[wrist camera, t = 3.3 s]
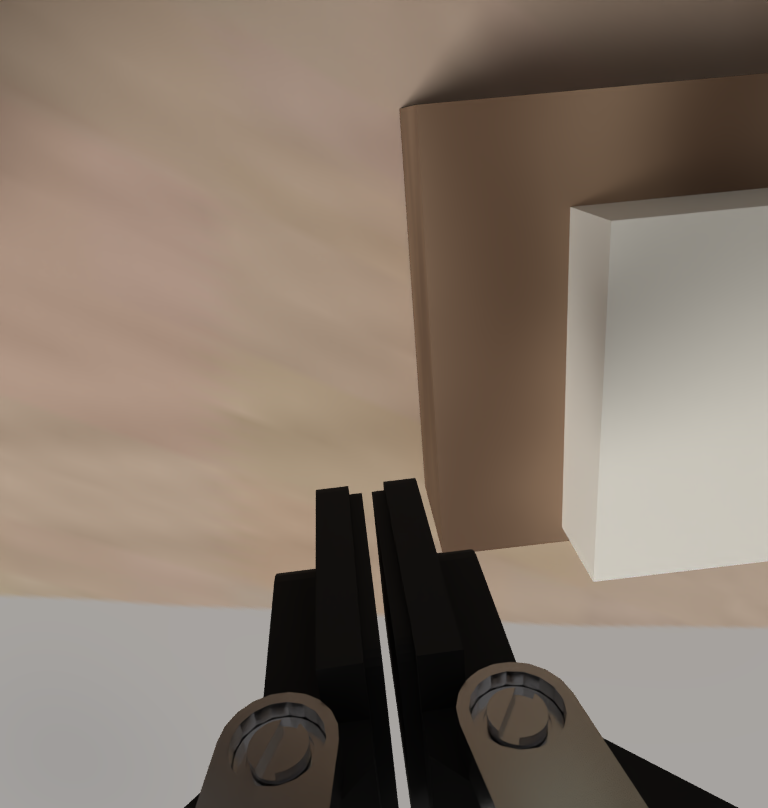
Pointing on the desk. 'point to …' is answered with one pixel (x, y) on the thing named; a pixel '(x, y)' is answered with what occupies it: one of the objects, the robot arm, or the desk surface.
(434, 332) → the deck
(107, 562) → the desk surface
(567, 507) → the white rectangular block
